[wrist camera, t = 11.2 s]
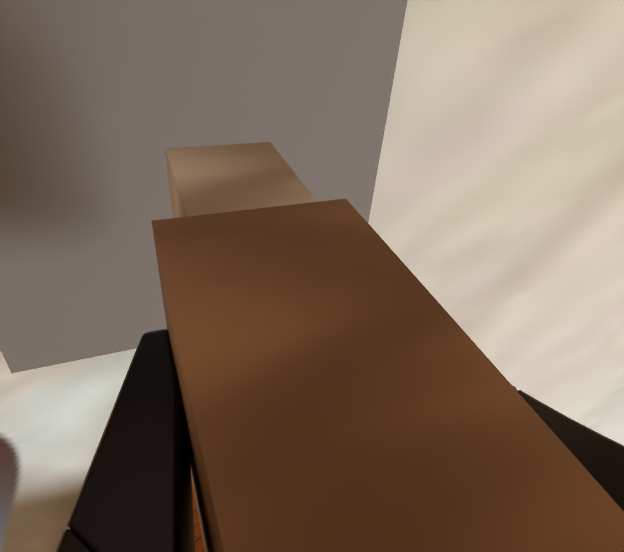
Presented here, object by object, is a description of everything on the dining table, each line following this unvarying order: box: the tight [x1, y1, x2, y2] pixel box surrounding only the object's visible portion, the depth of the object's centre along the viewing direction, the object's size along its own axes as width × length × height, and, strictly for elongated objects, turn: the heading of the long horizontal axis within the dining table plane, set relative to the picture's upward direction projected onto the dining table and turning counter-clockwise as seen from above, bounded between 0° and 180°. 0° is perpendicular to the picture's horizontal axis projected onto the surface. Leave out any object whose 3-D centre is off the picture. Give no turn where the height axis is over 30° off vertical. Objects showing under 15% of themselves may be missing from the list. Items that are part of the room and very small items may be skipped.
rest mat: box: [0, 0, 407, 373], centre depth 13 cm, size 12×12×1 cm
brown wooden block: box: [151, 142, 624, 552], centre depth 7 cm, size 3×5×8 cm, turn 176°
